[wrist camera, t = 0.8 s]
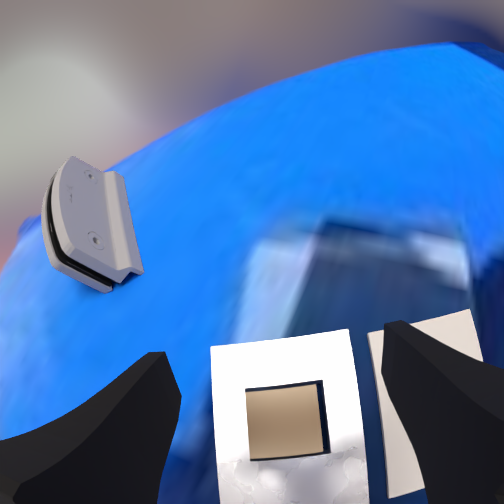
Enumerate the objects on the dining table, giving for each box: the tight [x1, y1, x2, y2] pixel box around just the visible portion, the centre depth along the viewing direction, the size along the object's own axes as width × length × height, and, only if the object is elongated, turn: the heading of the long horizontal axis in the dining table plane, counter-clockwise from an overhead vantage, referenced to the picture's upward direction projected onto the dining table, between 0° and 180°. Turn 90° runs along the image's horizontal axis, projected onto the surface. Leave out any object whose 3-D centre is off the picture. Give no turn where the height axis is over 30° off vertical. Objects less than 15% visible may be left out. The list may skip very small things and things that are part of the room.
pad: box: [367, 309, 483, 498], centre depth 19 cm, size 14×10×1 cm
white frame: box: [211, 329, 369, 504], centre depth 19 cm, size 16×10×3 cm, turn 4°
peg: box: [245, 384, 323, 459], centre depth 18 cm, size 4×4×7 cm
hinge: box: [41, 156, 144, 293], centre depth 31 cm, size 17×5×10 cm, turn 24°
